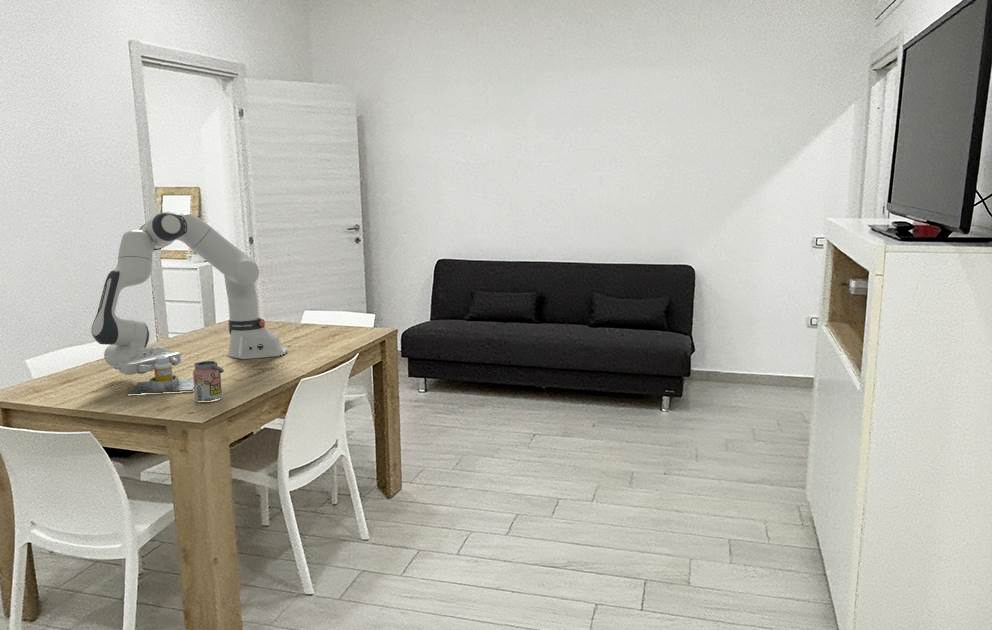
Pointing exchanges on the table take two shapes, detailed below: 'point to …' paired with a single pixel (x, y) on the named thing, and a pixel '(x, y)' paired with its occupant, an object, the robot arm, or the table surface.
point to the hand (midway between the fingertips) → (164, 365)
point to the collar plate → (163, 386)
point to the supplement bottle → (163, 369)
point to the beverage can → (207, 381)
